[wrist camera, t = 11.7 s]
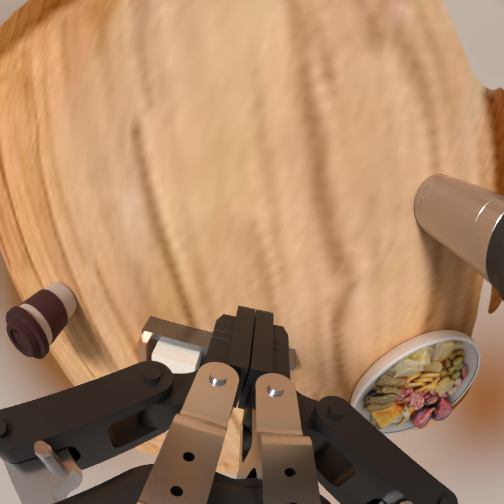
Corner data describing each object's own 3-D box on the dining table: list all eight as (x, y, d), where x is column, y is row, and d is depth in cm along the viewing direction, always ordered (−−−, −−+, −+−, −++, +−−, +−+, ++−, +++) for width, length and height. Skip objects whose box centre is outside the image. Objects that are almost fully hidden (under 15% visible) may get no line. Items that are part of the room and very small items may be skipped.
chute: (294, 349, 46) (296, 374, 41) (280, 382, 50) (280, 407, 44) (150, 316, 46) (137, 337, 40) (150, 352, 49) (139, 374, 44)
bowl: (317, 395, 51) (320, 426, 44) (435, 293, 41) (456, 319, 34) (393, 429, 56) (400, 452, 49) (485, 356, 46) (499, 377, 39)
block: (203, 341, 45) (195, 366, 40) (199, 365, 48) (192, 389, 42) (163, 331, 45) (151, 354, 40) (162, 355, 48) (152, 378, 42)
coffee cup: (83, 325, 49) (44, 373, 35) (47, 305, 48) (6, 346, 34) (83, 287, 45) (35, 334, 31) (45, 266, 44) (-4, 305, 30)
